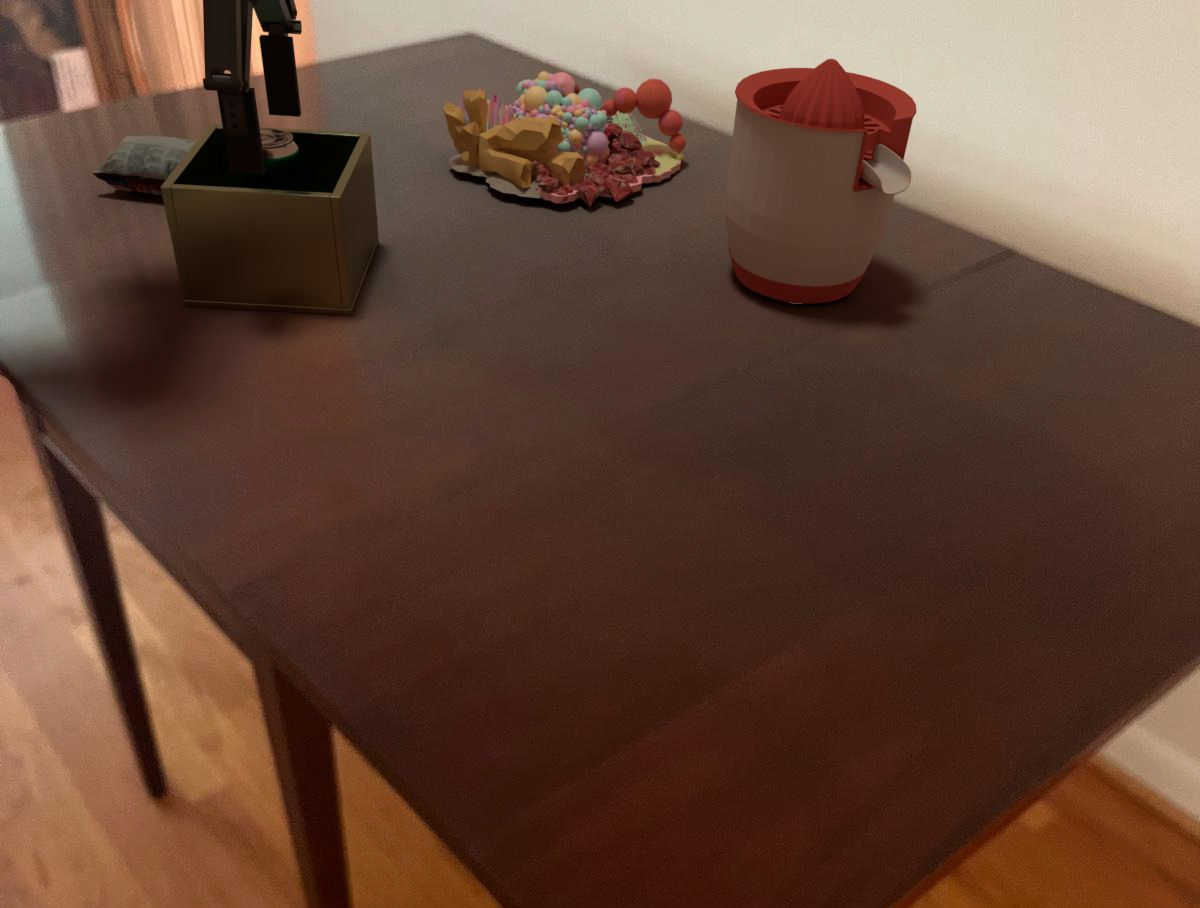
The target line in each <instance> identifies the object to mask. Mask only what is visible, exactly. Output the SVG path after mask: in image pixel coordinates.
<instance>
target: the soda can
mask: <svg viewBox="0 0 1200 908" xmlns="http://www.w3.org/2000/svg"><path fill="white" fill-rule="evenodd" d="M277 128H278V127H267V128H260V134H261V141H262V149H263V156H264V163H265V173H264V174H263V175H260V174H244V173H241V174H242V181H243V187H244V188H251V189H269V190H286V191H304V187H303V179H302V171H301V162H300V154H299V148H298V146H297V145H296V143H295V142H294V141H293V135H292V134H291V133H290V132H288V131H286V130H283V129H277Z"/></svg>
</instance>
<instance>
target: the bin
mask: <svg viewBox="0 0 1200 908" xmlns="http://www.w3.org/2000/svg"><path fill="white" fill-rule="evenodd" d="M259 127H260V128H268V127H267V126H265V127H264V126H259ZM276 128H277V129H283V130H286V131H288V132H290V133H291V134H292V135H293V141H294V142H295V143H296V145H297V146H298V148H299V154H300V162H301V171H302V179H303V187H304V191H286V190H269V189H251V188H244V187H243V181H242V174H241V173H230V171H229V165H228V158H227V152H226V145H225V139H224V133H223V126H222V124H211V123H210V124H208V126H207V127H206V128H205V129H204V130H203V132H202V134H200V136H199V137H198V138H197V140H195V141H196V142H195V144H194V145H193V146H192V147H191V149H190V150H189V151H188V153H187V154H186V155H185V156H184V158H183V159H182V160H181V162H180V163H179V164H178V165H177V167H176V168H175V169H174V171H173V172H172V173H171V174H170V176H169V177H168V178H167V180H166V181H165V182H164V183H163V185H162V186H161V192H162V195H161V197H162V200H163V201H162V202H163V206H164V211H165V216H166V221H167V226H168V231H169V236H170V241H171V245H172V251H173V255H174V261H175V265H176V271H177V275H178V281H179V285H180V290H181V294H182V299H183V305H184V307H191V308H192V307H195V308H209V309H210V308H213V309H230V310H231V309H232V310H249V311H267V312H268V311H269V312H282V313H283V312H286V313H302V314H305V313H306V314H319V315H320V314H321V315H323V314H324V315H336V316H337V315H338V316H339V315H340V316H353V313H354V309H355V307H356V306H357V302H358V299H359V297H360V294H361V291H362V289H363V288H364V287H363V286H364V284H365V282H366V279H367V277H368V274H369V271H370V268H371V266H372V264H373V261H374V258H375V255H376V253H377V250H378V248H379V246H380V239H379V226H378V215H377V212H378V211H377V200H376V187H375V186H376V185H375V174H374V163H373V150H372V149H373V148H372V138H371V133H370V132H369V133H368V132H352V131H336V130H334V131H333V130H319V129H299V128H283V127H282V128H281V127H276Z"/></svg>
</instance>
